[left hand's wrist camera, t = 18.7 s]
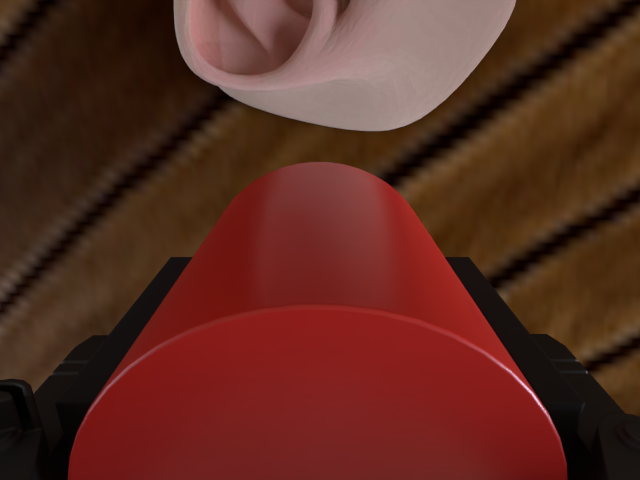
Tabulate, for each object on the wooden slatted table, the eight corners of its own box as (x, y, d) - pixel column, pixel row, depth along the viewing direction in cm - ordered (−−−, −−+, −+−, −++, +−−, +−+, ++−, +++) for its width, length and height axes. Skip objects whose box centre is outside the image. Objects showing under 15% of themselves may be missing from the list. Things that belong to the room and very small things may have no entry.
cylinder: (424, 356, 17) (534, 657, 8) (224, 364, 17) (125, 670, 9) (433, 155, 14) (616, 292, 5) (193, 167, 14) (-7, 319, 6)
